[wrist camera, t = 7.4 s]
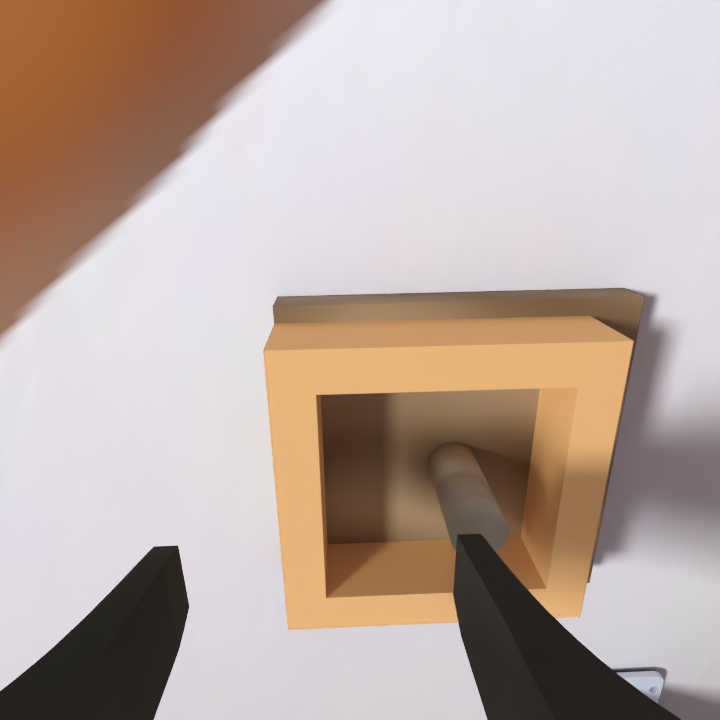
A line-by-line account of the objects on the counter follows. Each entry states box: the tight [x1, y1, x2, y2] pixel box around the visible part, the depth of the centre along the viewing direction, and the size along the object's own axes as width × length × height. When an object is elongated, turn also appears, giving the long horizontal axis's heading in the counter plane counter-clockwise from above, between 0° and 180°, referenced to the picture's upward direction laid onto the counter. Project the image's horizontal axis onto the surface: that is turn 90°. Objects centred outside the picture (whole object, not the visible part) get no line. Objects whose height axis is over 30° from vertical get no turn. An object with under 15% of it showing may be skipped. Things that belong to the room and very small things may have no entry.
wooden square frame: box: [263, 316, 634, 630], centre depth 20 cm, size 12×12×3 cm
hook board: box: [273, 288, 644, 583], centre depth 20 cm, size 14×14×6 cm
